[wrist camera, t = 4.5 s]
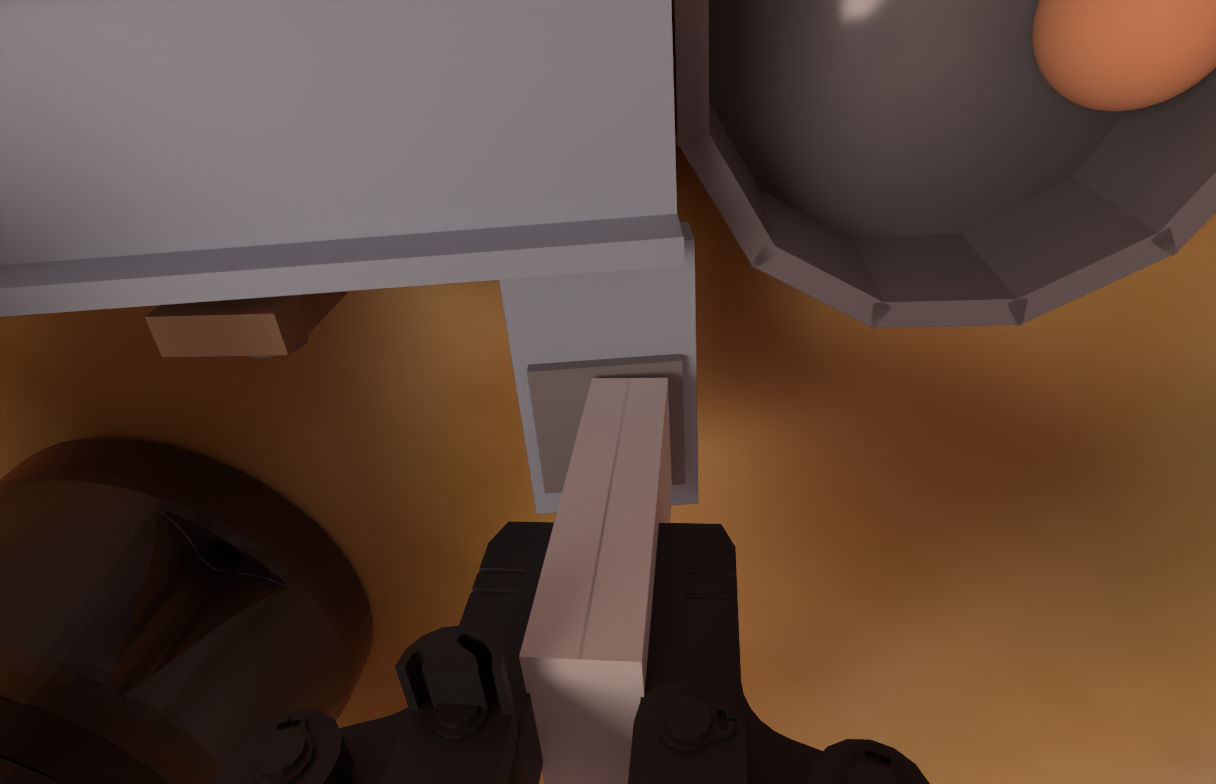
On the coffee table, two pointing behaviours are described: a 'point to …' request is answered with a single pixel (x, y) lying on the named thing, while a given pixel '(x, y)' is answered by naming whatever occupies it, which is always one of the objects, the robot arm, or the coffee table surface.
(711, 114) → the dish
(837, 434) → the coffee table surface
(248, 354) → the fulcrum
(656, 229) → the grey slab
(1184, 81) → the ball
